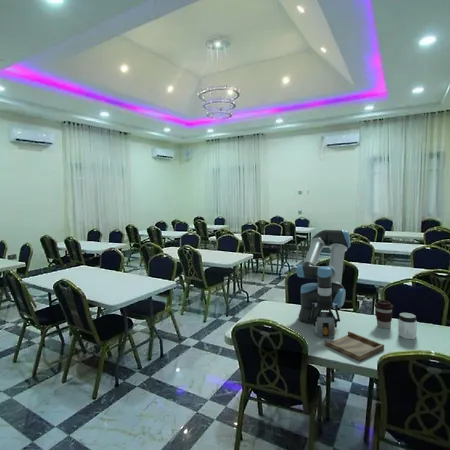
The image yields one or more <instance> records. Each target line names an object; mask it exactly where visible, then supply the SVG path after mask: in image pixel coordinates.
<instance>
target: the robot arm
mask: <svg viewBox="0 0 450 450" xmlns="http://www.w3.org/2000/svg"><path fill="white" fill-rule="evenodd" d="M325 247H328V248H329V250H330V255H329V256H330V257H329V263H328V265H327V266H324V265H322V266H319V265H317V263H318V260H319V257H320V255H321V252H322V250H323V249H324V248H325ZM350 247H351V237H350V232H349V230H346V229H345V230H344V229H323V230H320V231H319V232H317V233H316V234H315V235H313V236H312V238H311V240H310V246H309V248H308V249H309V250H308V251H307V254H306V257H305V258H304V261H303V264H298V265H297V267H296V275H297V277H299V278H303V279H304V278H305V279H315V280H317V282H310V283H305V284H302V285H301V287H300V309H299V313H298V320H299V321H300V322H301V321H302V322H301V323H304V322H305V324H308V323H310V324H311V325H313V327H314V328H315V333H316V334H317V320H316V319H317V315H318V316H319V314H320V312H330V314H331V316H334V335H335V334H336V329H337V328H338V323H339V322H341V318H340V314H339V310H338V308H339V309H340V308H342V307H343V306H344V304H345V299H346V292H347V291H346V289H345V288H344V286H343V285H342V281H343V280H342V279H343V270H344V260H345V252H347V251H348V249H349V248H350ZM332 308H334V311H335V314H336V315H335V314H334V313H333V310H332ZM316 311H317V313H316ZM335 316H336V317H335ZM310 324H309V325H310Z"/></svg>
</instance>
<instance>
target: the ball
mask: <svg viewBox="0 0 450 450" xmlns="http://www.w3.org/2000/svg"><path fill="white" fill-rule="evenodd" d="M327 335H328V336H329V329H328V328H327V327H323V336H327Z"/></svg>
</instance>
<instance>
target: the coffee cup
mask: <svg viewBox="0 0 450 450" xmlns="http://www.w3.org/2000/svg"><path fill="white" fill-rule="evenodd" d="M374 307H375V317H376V319H375V320H376V325H377V327H378V328H380V329H383V330H384V329H390V328H391V326H392V319H393V309H394V304H392V303H391V302H390V301H388V300H378V301H377V302H375V303H374Z"/></svg>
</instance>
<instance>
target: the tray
mask: <svg viewBox="0 0 450 450" xmlns="http://www.w3.org/2000/svg"><path fill="white" fill-rule="evenodd" d="M324 345H325V346H326V347H328V348H331V349H333V350H334V351H337V352H338V353H341V354H343V355H345V356H347V357H350V359H351V358H352V359H354V360H355V361H358V362H362V361H364V360H366V359H367V358H369V357H371V356H374V355H375V354H378V353H380V352H382V351H384V350H385V345H384V344H383V343H380V342H378V341H375V340H373V339H371V338H367V337H365V336H362V335H360V334H357V333H354V332H352V331H350V330H349V331H347V334H346V335H344V336H341V337H339V338H337V339H335V340H334V339H333V340H332V341H329V340H327V339H325V340H324Z"/></svg>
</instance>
